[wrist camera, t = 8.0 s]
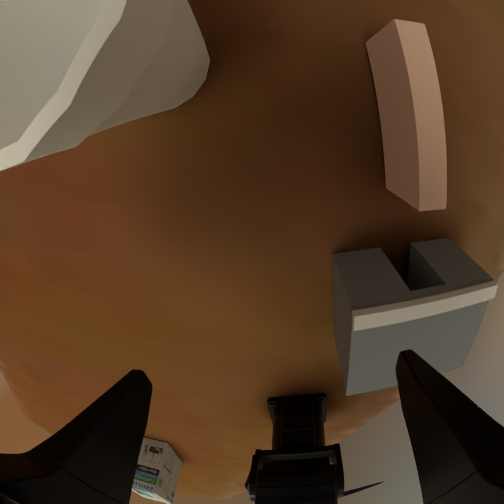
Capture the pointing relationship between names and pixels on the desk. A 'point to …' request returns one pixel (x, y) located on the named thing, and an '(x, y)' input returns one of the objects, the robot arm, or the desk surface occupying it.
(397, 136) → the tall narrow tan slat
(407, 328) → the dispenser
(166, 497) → the light bulb box
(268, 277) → the desk surface
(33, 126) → the foam cup
